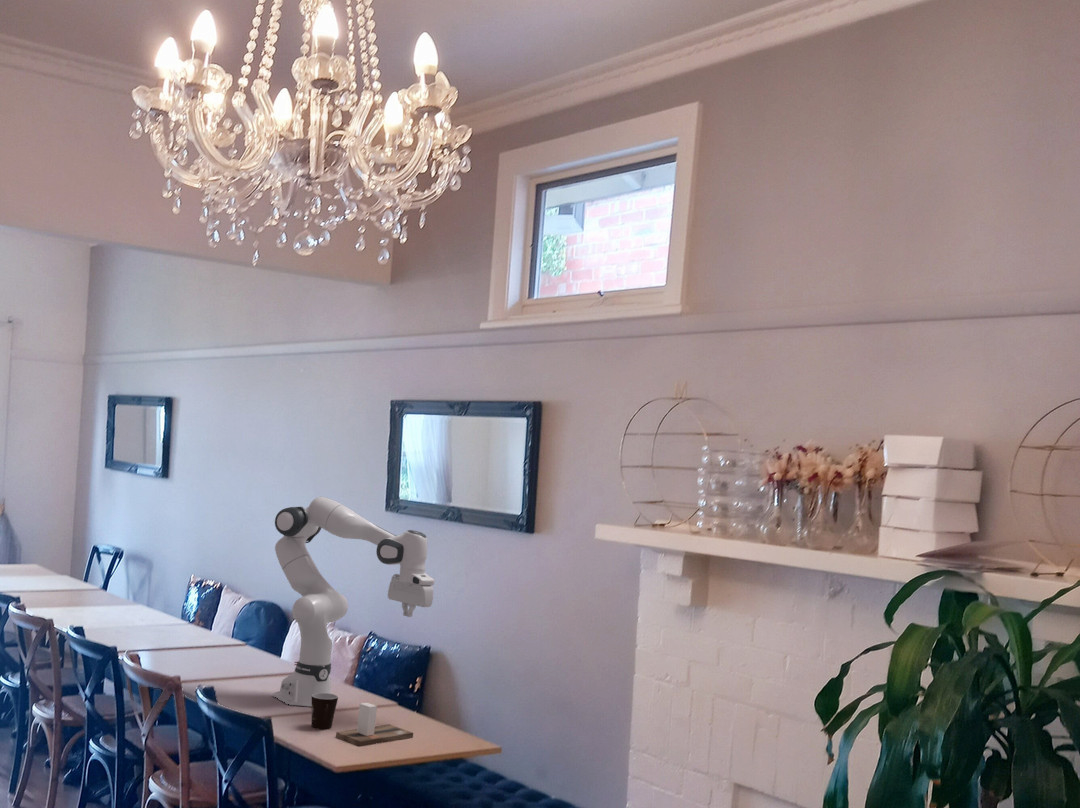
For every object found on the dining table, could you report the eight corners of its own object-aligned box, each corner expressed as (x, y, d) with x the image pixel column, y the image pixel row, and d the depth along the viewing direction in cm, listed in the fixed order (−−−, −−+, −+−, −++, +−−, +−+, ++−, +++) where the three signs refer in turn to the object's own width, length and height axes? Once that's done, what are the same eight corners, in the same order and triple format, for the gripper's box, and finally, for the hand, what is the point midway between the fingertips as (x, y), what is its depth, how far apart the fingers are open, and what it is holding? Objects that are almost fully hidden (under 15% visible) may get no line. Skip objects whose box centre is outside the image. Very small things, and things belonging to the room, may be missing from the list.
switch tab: (356, 732, 322) (359, 703, 323) (363, 731, 324) (367, 702, 325) (366, 735, 319) (369, 707, 320) (373, 734, 321) (377, 706, 322)
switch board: (335, 736, 320) (336, 731, 321) (388, 728, 337) (389, 724, 337) (359, 746, 312) (360, 741, 313) (412, 737, 329) (413, 732, 329)
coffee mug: (312, 722, 335) (316, 691, 336) (338, 725, 334) (341, 695, 335) (301, 730, 324) (304, 699, 325) (327, 734, 323) (330, 702, 324)
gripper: (385, 573, 362) (381, 611, 361) (424, 581, 349) (420, 621, 348) (399, 573, 367) (394, 611, 366) (437, 580, 353) (433, 620, 352)
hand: (407, 616), depth 357 cm, fingers closed
